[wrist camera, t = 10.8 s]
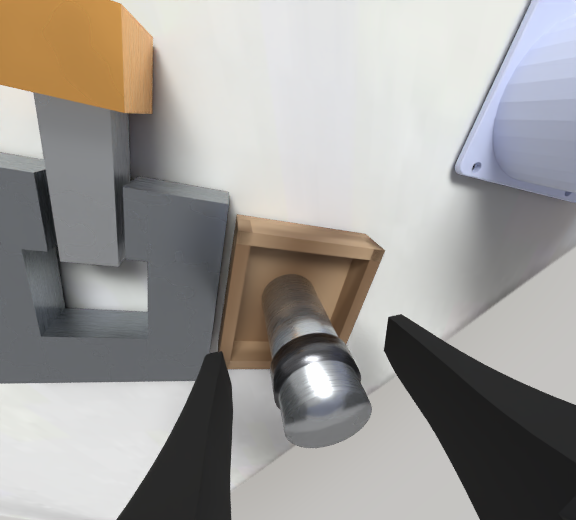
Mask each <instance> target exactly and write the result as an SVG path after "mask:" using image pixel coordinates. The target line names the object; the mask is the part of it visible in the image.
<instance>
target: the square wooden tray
mask: <svg viewBox="0 0 576 520" xmlns="http://www.w3.org/2000/svg"><path fill="white" fill-rule="evenodd" d="M384 252H385V250H384V249H383V248H381V247H380V246H379V245H378V244H377V243H376V242H374V241H373V240H372V239H371V238H370V237H369V236H367V235H366V234H362V233H356V232H349V231H343V230H336V229H330V228H323V227H316V226H310V225H303V224H297V223H290V222H284V221H277V220H270V219H264V218H257V217H251V216H244V215H238V214H237V216H236V223H235V230H234V237H233V244H232V251H231V258H230V264H229V271H228V278H227V285H226V292H225V299H224V306H223V313H222V319H221V326H220V333H219V340H218V352H220V351H222V352H223V356H224V359H225V363H226V367H227V369H270V364H271V361H272V357H271V352H270V346H269V340H268V334H267V329H266V323H265V317H264V312H263V306H262V294H263V291H264V289H265V287H266V286H267V285H268V284H269V283H270V282H271V281H272V280H274V279H275V278H277V277H279V276H282V275H287V274H297V275H301V276H303V277H305V278H307V279H308V280H309V281H310V282H311V283H312V285H313V287H314V289H315V291H316V293H317V295H318V297H319V299H320V301H321V303H322V305H323V307H324V309H325V311H326V313H327V315H328V317H329V319H330V321H331V324H332V326H333V328H334V330H335V332H336V334H337V336H338V337H339V338H340V339H341V340H342V341H343V342H344V343H345V344H347V341H348V339H349V336H350V334H351V332H352V329H353V327H354V324H355V322H356V319H357V317H358V315H359V312H360V310H361V307H362V305H363V303H364V300H365V298H366V295H367V293H368V291H369V288H370V286H371V283H372V281H373V278H374V276H375V274H376V271H377V269H378V266H379V264H380V262H381V259H382V257H383V254H384Z"/></svg>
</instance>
